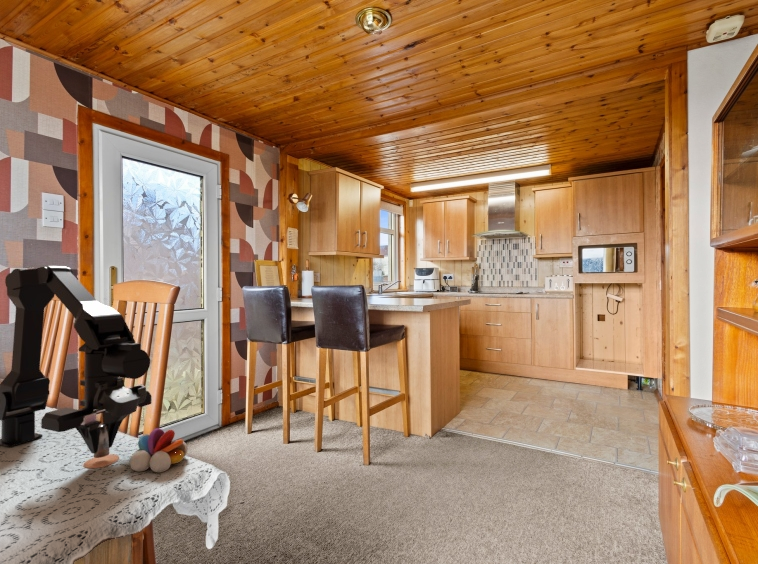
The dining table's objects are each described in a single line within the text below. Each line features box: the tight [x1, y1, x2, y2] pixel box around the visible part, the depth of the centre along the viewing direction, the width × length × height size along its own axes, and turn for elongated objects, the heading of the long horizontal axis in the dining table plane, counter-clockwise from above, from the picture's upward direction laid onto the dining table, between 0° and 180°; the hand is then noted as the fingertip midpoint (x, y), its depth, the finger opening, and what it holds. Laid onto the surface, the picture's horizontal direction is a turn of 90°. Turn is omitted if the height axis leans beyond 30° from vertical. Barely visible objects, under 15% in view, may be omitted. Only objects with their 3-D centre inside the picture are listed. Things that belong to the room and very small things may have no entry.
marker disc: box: [82, 454, 120, 469], centre depth 81 cm, size 6×6×1 cm
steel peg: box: [93, 423, 110, 458], centre depth 81 cm, size 3×3×6 cm
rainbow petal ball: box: [129, 427, 189, 474], centre depth 80 cm, size 8×10×7 cm
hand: (101, 450), depth 81 cm, fingers open, 3 cm apart
